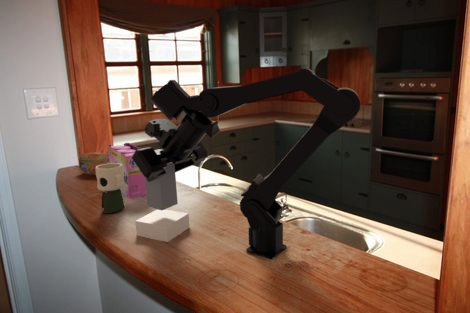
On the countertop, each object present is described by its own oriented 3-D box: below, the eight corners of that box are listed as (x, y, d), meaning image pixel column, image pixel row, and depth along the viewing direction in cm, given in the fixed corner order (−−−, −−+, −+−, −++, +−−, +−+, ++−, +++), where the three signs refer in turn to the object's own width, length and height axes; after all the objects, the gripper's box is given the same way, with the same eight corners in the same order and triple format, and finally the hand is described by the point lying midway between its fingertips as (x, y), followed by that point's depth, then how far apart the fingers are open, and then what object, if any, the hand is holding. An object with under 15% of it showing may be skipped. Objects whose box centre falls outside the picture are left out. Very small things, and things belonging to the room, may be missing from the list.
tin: (79, 173, 147) (77, 152, 145) (85, 171, 150) (82, 151, 148) (112, 176, 143) (110, 154, 141) (117, 173, 146) (115, 152, 144)
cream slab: (189, 228, 93) (188, 213, 92) (167, 243, 85) (166, 226, 85) (160, 223, 97) (159, 208, 96) (136, 236, 89) (135, 220, 89)
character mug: (92, 209, 107) (87, 165, 105) (115, 203, 112) (111, 160, 109) (111, 219, 100) (106, 171, 97) (134, 211, 105) (130, 166, 102)
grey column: (177, 203, 90) (173, 151, 88) (162, 210, 87) (157, 155, 84) (163, 200, 93) (158, 149, 91) (147, 206, 90) (142, 153, 87)
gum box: (109, 181, 135) (105, 144, 132) (131, 178, 140) (128, 142, 137) (129, 199, 116) (125, 156, 113) (154, 194, 120) (151, 152, 117)
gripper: (195, 103, 90) (166, 145, 99) (133, 111, 75) (105, 159, 84) (223, 138, 87) (190, 178, 96) (164, 153, 72) (131, 198, 81)
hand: (156, 177), depth 89 cm, fingers closed on grey column, 5 cm apart
